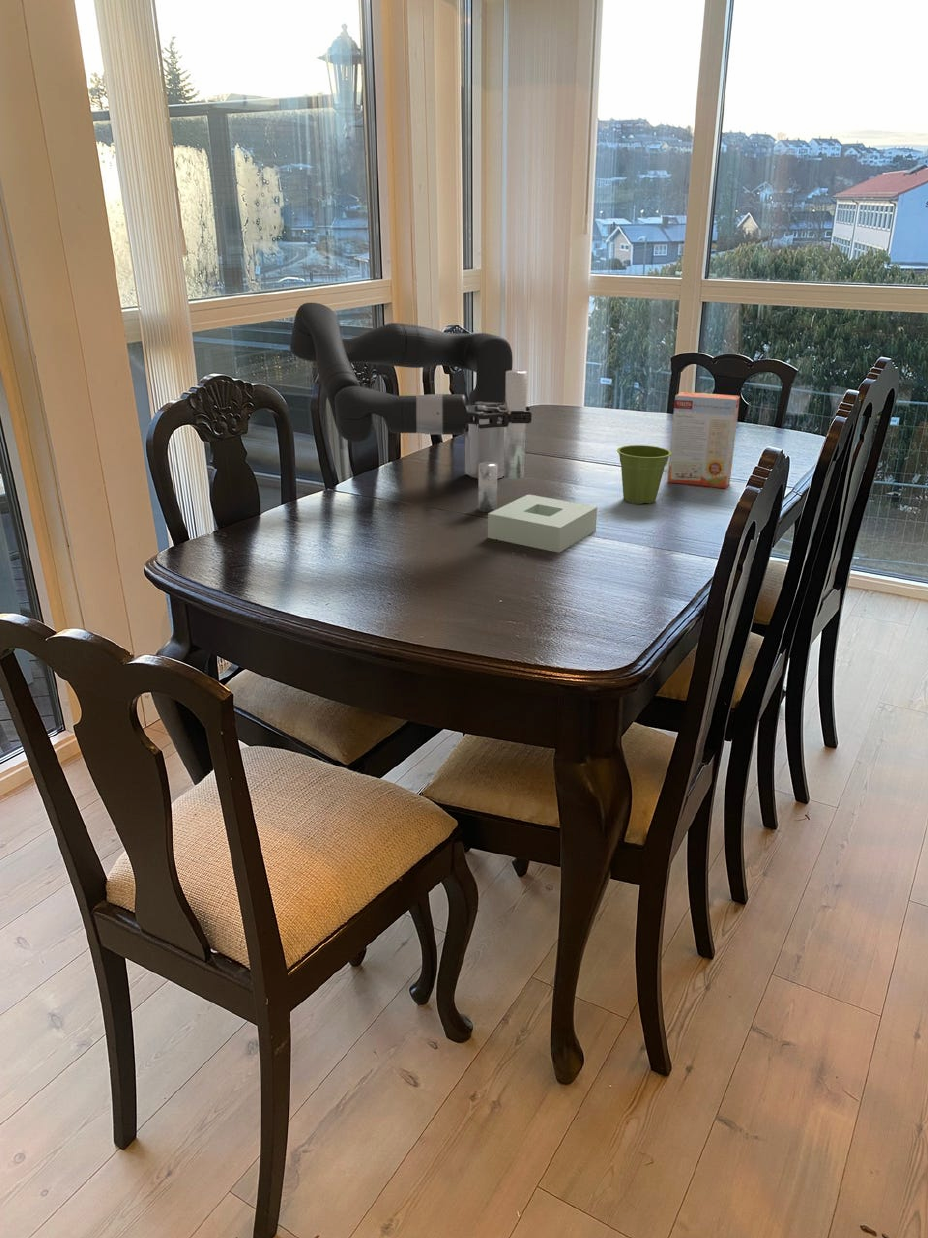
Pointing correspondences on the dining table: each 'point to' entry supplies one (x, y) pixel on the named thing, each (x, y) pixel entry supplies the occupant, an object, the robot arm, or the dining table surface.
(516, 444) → the long steel pin
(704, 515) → the dining table surface
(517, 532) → the hole block
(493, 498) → the short steel pin
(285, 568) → the dining table surface
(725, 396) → the cracker box
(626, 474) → the plant pot
